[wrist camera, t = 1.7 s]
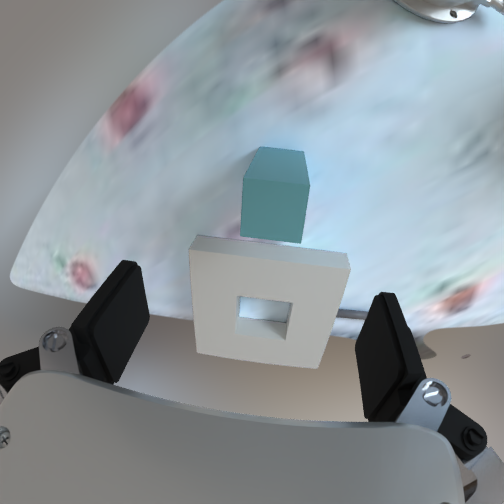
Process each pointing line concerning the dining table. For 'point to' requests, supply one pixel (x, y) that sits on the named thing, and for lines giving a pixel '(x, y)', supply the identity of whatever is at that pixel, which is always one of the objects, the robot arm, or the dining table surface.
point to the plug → (275, 195)
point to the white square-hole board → (270, 288)
